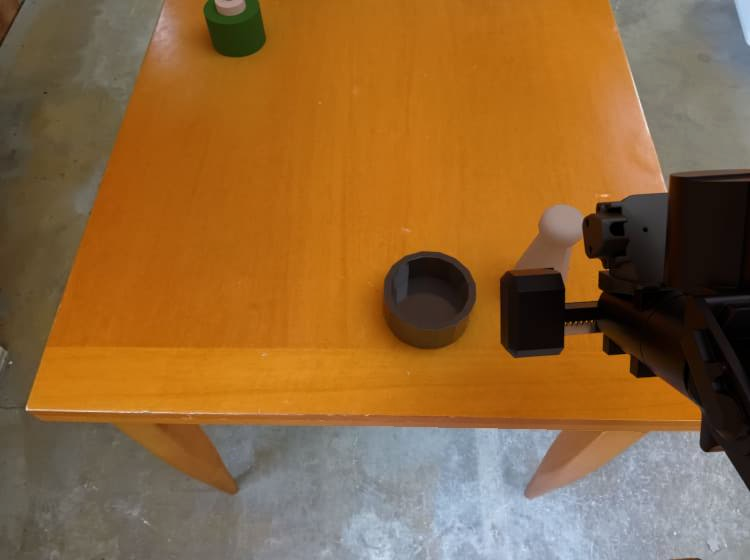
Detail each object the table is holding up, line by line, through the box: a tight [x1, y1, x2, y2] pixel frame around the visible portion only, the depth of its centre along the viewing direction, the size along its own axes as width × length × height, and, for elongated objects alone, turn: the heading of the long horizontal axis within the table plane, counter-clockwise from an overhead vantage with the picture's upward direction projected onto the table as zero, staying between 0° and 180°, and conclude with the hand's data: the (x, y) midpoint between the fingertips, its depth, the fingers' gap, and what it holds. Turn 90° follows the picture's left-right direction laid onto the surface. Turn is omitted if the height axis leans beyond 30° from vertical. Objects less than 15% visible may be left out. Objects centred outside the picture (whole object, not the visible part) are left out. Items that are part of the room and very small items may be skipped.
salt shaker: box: [513, 203, 586, 286], centre depth 59 cm, size 6×6×13 cm
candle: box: [202, 0, 267, 58], centre depth 84 cm, size 8×8×10 cm
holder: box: [382, 250, 477, 350], centre depth 61 cm, size 10×10×4 cm
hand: (583, 280), depth 50 cm, fingers open, 9 cm apart
